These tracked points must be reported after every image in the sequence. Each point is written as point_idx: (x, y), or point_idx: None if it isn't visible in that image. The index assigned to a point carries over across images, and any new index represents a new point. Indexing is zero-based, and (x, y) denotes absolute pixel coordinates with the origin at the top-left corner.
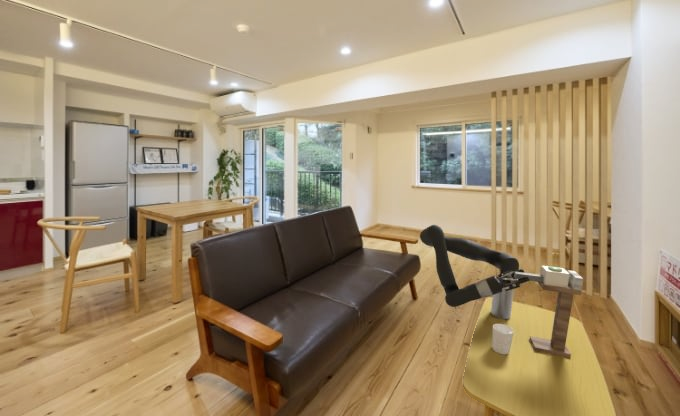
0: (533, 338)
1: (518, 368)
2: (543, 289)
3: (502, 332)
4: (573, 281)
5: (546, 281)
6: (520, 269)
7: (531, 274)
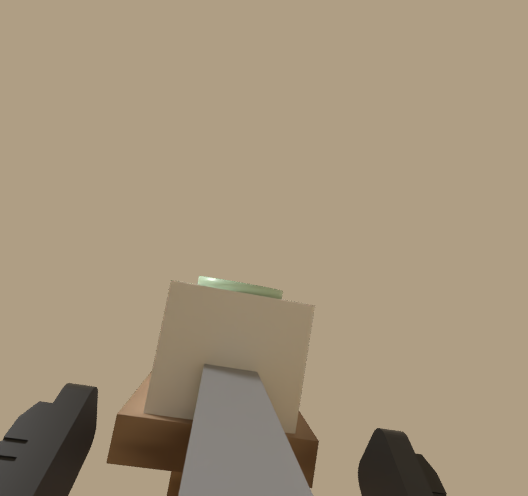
0: None
1: None
2: (311, 483)
3: None
4: None
5: (299, 397)
6: (62, 400)
7: (230, 395)
